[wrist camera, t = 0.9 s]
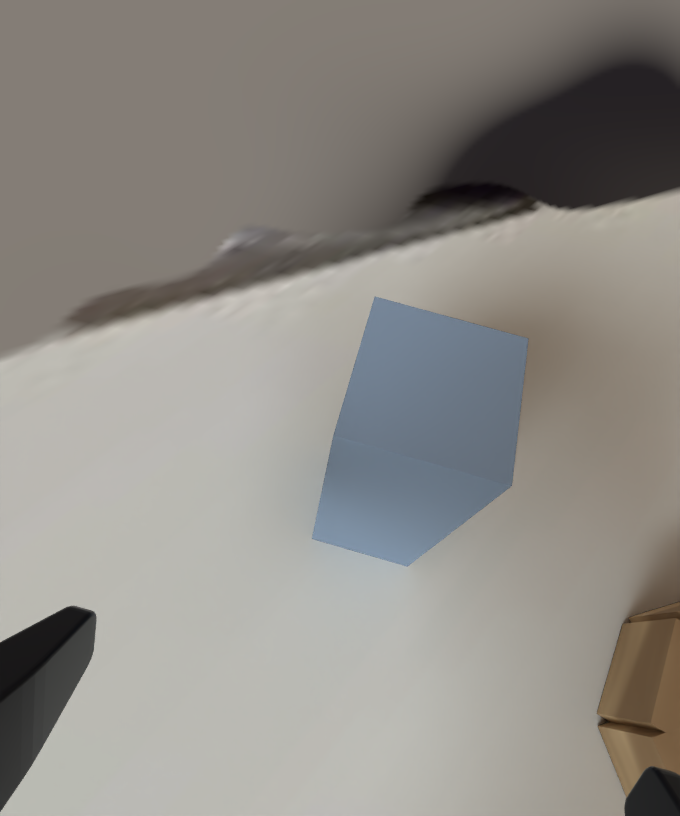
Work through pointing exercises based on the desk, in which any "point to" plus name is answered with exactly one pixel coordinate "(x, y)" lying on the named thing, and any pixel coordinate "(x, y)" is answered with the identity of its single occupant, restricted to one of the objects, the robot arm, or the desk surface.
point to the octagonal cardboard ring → (644, 696)
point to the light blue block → (420, 432)
